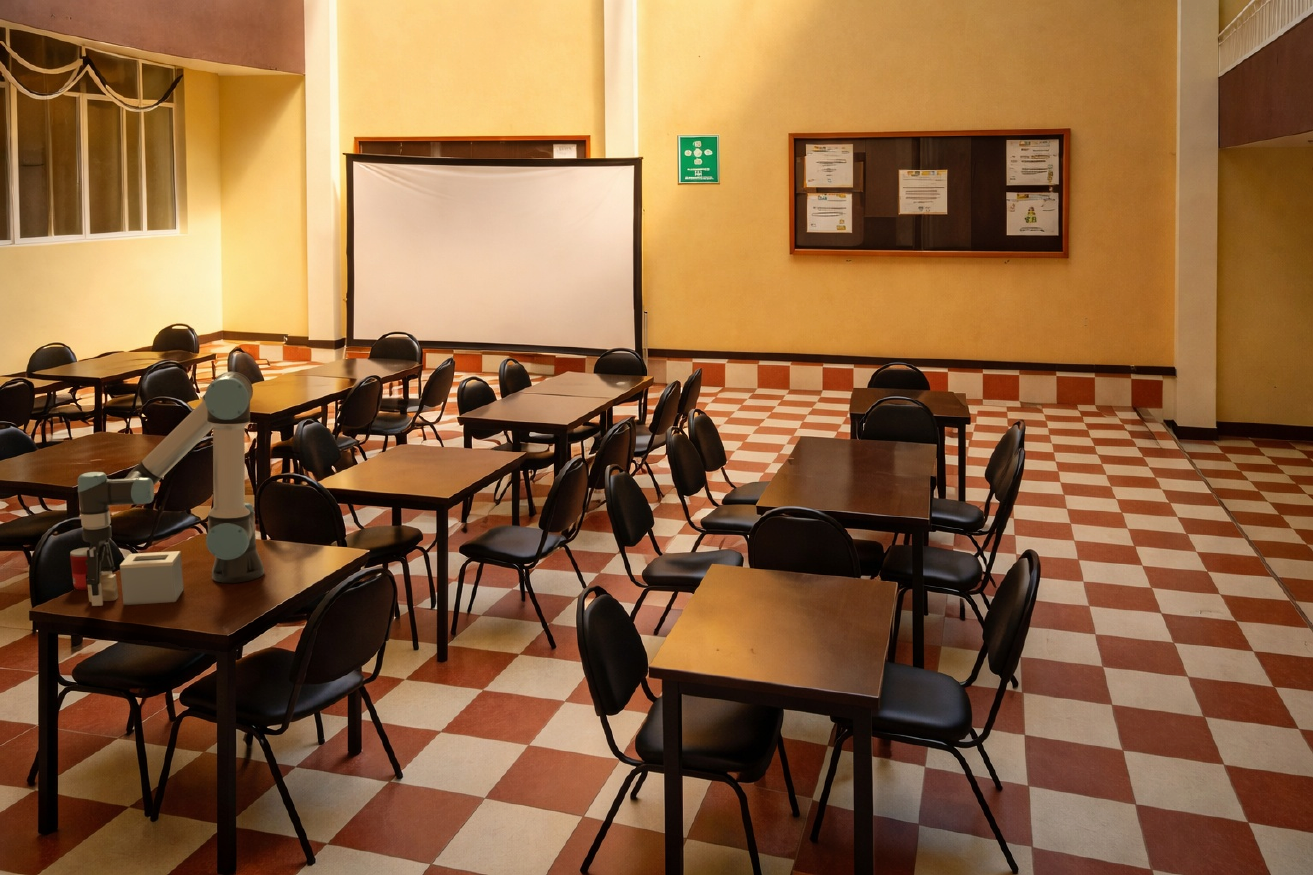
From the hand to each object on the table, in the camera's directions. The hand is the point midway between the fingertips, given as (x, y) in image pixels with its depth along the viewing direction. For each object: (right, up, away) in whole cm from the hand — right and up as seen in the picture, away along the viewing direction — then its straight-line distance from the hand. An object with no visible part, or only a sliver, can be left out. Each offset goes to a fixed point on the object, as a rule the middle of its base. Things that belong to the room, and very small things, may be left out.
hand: (103, 598), depth 319 cm
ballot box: (+14, 0, +2) cm, 14 cm away
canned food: (-11, +2, +12) cm, 16 cm away
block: (0, 0, 0) cm, 0 cm away
